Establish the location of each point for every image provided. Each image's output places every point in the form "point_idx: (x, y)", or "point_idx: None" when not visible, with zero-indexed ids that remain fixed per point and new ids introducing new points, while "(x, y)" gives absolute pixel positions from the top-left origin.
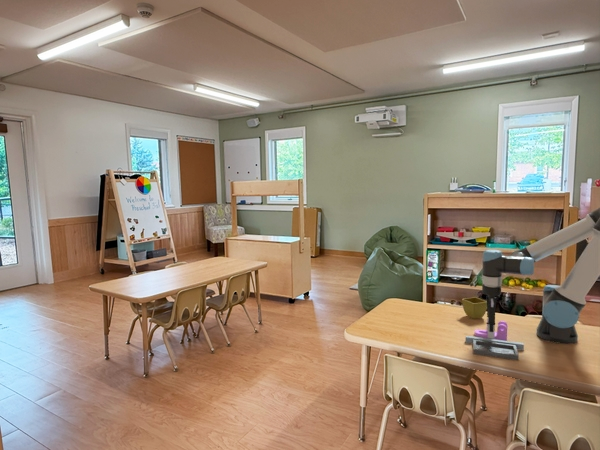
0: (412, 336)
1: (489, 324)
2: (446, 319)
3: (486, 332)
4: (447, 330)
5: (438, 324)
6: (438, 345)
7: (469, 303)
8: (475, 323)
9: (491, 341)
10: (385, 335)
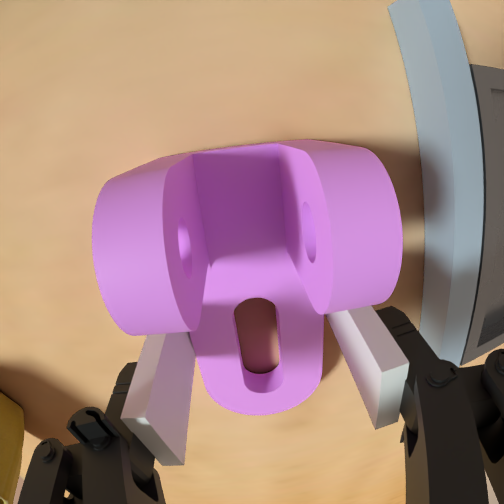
0: (403, 484)
1: (399, 404)
2: None
3: (238, 346)
4: (290, 473)
5: (231, 498)
6: None
7: (10, 499)
8: (65, 403)
9: (474, 263)
10: None
